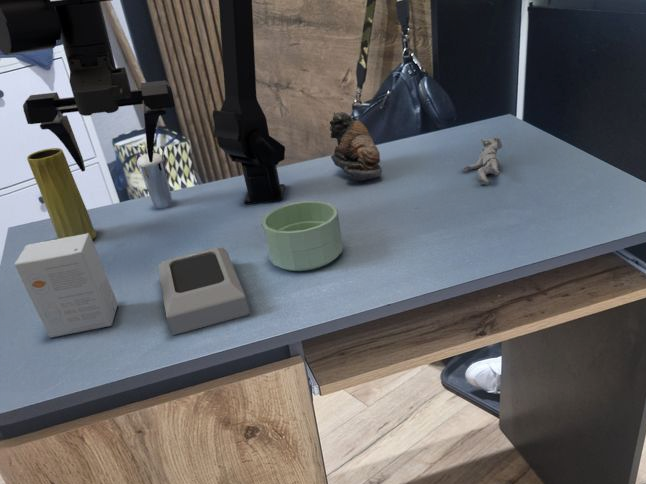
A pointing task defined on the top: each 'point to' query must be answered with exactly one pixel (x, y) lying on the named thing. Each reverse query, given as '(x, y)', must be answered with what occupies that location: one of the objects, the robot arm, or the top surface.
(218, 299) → the grey flat block
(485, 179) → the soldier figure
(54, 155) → the vase
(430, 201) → the top surface
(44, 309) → the small box
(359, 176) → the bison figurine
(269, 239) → the sage green round tub
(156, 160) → the milkshake
